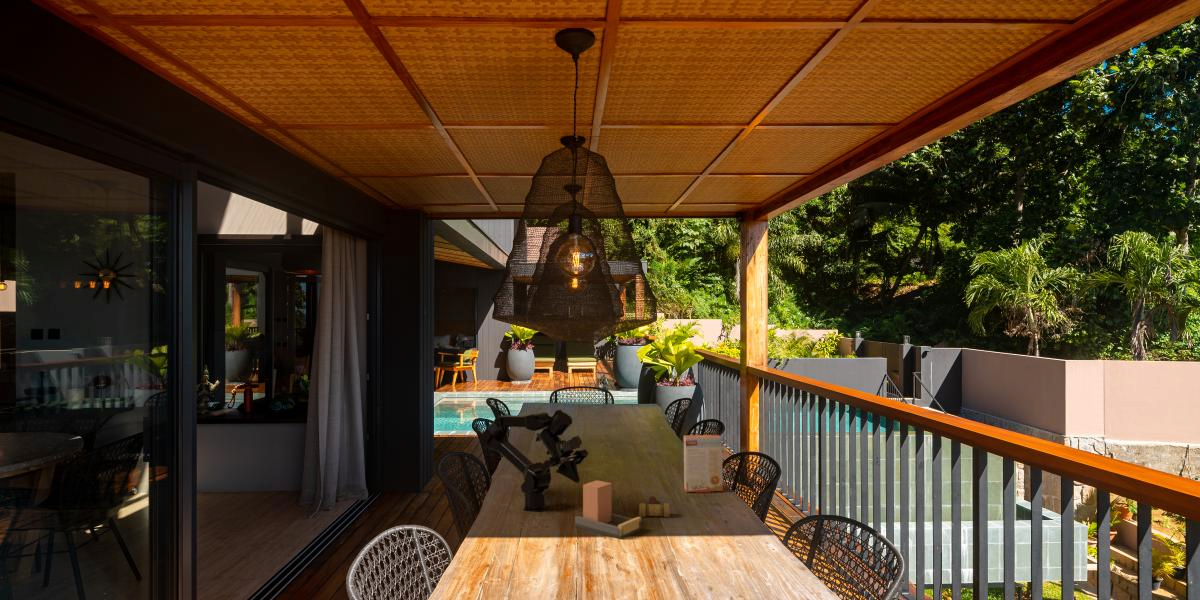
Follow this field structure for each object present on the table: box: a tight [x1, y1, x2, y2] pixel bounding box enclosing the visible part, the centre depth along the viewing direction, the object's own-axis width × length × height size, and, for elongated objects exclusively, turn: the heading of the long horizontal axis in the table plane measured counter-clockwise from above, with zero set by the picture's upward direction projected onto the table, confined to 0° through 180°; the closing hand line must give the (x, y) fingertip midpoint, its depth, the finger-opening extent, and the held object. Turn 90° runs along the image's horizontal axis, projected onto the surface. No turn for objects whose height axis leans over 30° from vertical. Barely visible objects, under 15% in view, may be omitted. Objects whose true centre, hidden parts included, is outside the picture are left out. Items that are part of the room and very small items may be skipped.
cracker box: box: [683, 434, 724, 493], centre depth 247 cm, size 14×6×21 cm, turn 92°
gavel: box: [638, 495, 671, 518], centre depth 225 cm, size 21×5×10 cm
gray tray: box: [574, 512, 642, 540], centre depth 204 cm, size 18×10×4 cm, turn 51°
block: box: [582, 479, 612, 523], centre depth 207 cm, size 6×7×12 cm
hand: (578, 482), depth 212 cm, fingers closed
